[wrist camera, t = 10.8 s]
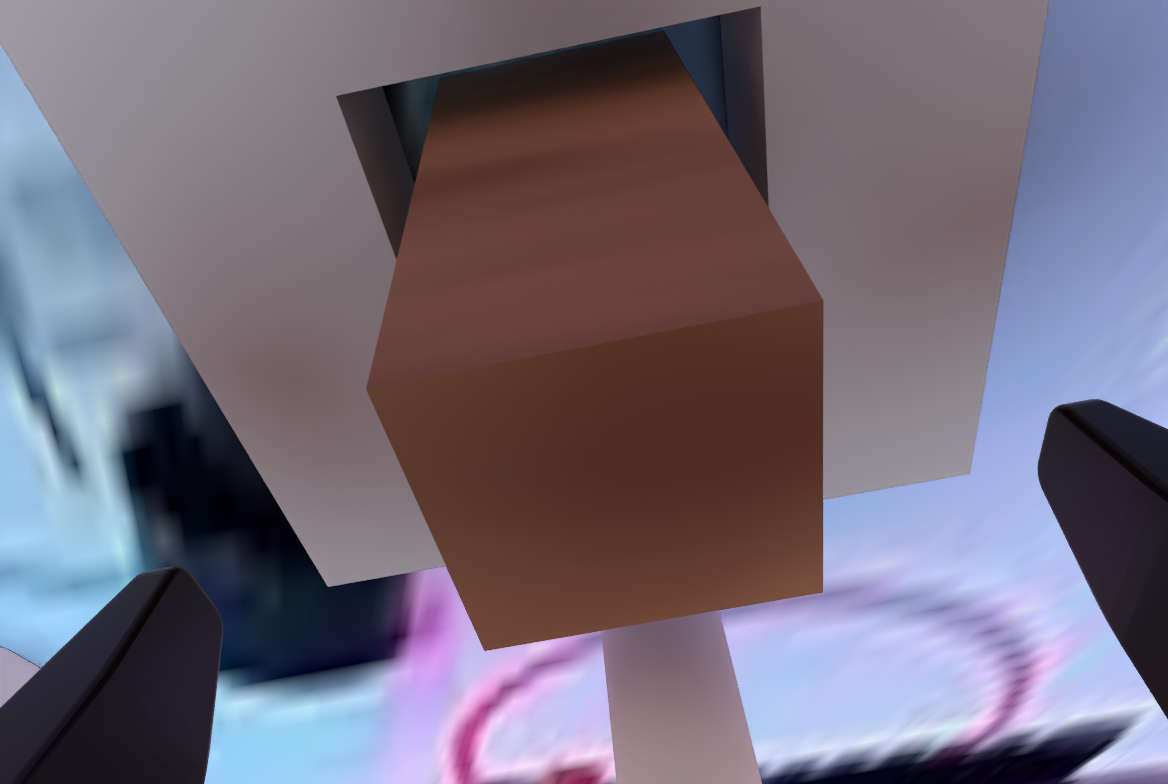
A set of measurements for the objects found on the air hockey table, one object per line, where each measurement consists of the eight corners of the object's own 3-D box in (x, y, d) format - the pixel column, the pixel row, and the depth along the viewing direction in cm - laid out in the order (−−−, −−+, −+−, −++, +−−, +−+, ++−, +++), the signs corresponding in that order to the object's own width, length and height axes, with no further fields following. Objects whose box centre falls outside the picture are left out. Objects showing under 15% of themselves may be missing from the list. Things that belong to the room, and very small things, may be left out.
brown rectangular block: (686, 235, 16) (822, 592, 9) (496, 274, 16) (483, 650, 9) (663, 30, 14) (823, 299, 7) (439, 79, 14) (366, 388, 7)
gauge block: (992, -431, 11) (1981, -858, 3) (898, 537, 22) (1076, 890, 15) (-3, -195, 11) (-874, -145, 4) (417, 621, 23) (375, 992, 16)
